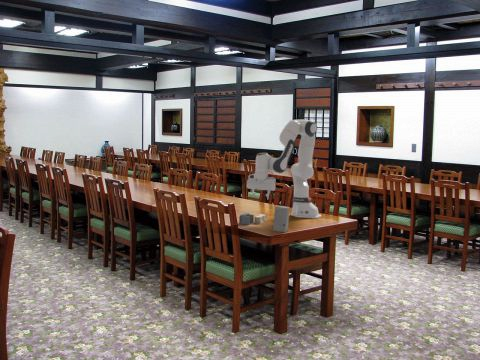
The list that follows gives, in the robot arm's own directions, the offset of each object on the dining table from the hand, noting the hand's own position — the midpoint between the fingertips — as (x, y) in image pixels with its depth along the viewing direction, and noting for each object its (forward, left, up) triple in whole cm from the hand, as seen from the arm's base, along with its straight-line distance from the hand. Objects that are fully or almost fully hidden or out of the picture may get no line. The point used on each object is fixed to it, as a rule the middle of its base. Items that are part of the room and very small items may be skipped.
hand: (260, 196), depth 351 cm
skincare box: (-22, +23, -18) cm, 37 cm away
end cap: (+7, +9, -18) cm, 21 cm away
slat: (0, 0, -18) cm, 18 cm away
